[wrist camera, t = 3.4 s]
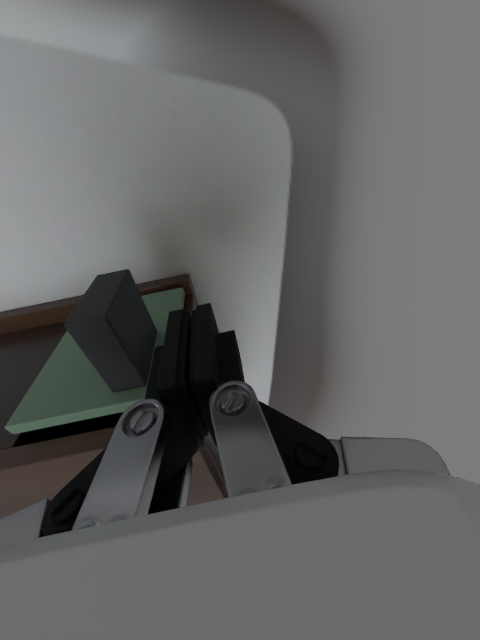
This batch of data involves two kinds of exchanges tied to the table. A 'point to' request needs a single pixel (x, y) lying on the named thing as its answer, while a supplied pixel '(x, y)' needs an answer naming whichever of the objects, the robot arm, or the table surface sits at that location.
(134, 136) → the table surface
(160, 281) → the cupboard
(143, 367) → the sliding door
